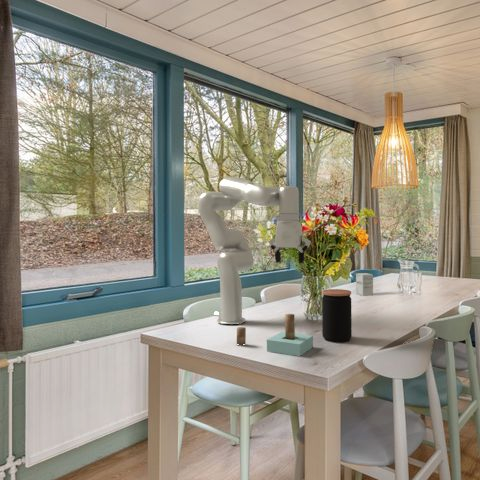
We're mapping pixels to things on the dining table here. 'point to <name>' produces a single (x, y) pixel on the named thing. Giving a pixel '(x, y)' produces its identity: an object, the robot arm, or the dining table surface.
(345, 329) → the coffee jar
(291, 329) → the long dowel
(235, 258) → the robot arm
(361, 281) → the supplement box
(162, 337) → the dining table surface
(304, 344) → the hole block
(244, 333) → the short dowel
